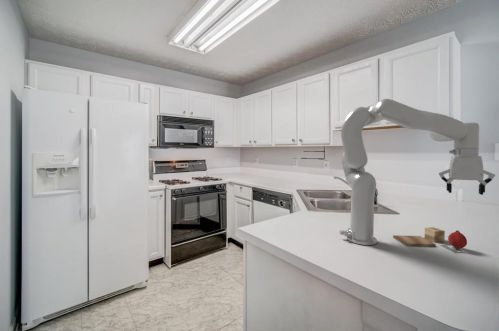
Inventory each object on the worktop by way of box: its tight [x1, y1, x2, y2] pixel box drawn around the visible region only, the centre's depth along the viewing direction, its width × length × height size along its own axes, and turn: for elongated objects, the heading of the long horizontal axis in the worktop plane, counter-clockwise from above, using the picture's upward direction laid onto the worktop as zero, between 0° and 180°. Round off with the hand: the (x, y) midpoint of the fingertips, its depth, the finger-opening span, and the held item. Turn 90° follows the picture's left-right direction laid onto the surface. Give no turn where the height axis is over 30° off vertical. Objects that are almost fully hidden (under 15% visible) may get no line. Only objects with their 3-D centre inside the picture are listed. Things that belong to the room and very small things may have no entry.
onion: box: [447, 229, 468, 249], centre depth 94 cm, size 6×6×8 cm
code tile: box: [439, 244, 477, 255], centre depth 94 cm, size 8×8×1 cm
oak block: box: [424, 226, 446, 242], centre depth 104 cm, size 5×5×5 cm
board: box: [392, 234, 437, 248], centre depth 102 cm, size 12×10×1 cm
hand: (464, 193), depth 96 cm, fingers open, 9 cm apart
